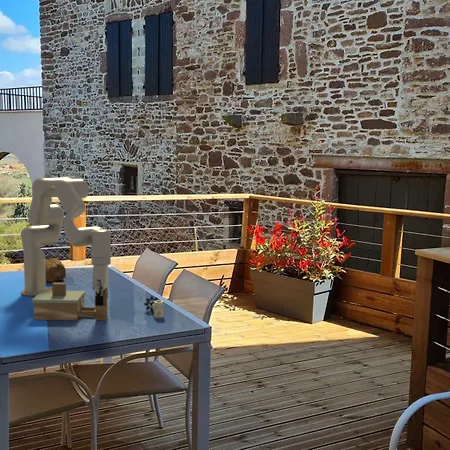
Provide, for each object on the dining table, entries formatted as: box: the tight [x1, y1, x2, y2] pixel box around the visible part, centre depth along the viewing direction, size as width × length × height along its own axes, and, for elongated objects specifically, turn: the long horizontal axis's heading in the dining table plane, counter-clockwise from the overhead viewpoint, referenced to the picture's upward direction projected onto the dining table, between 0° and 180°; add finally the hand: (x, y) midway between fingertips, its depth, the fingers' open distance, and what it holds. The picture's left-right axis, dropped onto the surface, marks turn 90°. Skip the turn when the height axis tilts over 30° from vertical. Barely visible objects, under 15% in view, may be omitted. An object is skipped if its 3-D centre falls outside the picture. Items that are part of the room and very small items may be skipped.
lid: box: [31, 282, 86, 304], centre depth 248 cm, size 15×18×6 cm
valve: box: [143, 295, 165, 319], centre depth 252 cm, size 7×7×12 cm
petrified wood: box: [45, 257, 67, 283], centre depth 312 cm, size 19×13×10 cm
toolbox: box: [33, 295, 96, 321], centre depth 249 cm, size 14×24×7 cm, turn 91°
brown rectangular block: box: [95, 288, 108, 321], centre depth 244 cm, size 4×4×12 cm
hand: (101, 302), depth 244 cm, fingers open, 9 cm apart
